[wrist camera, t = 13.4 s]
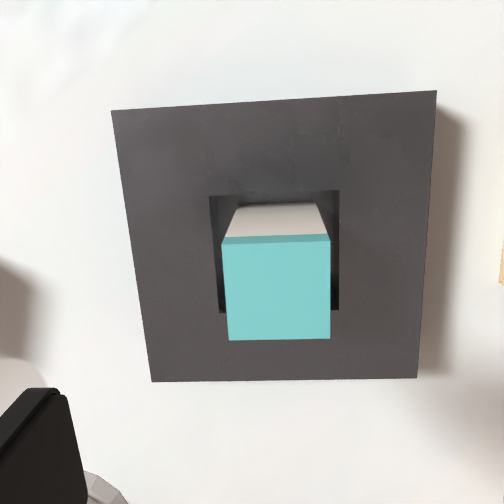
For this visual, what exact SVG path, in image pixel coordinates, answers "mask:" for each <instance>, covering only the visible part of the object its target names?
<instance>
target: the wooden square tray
mask: <svg viewBox="0 0 504 504" xmlns="http://www.w3.org/2000/svg"><path fill="white" fill-rule="evenodd" d="M499 282H500V283H501V284H502V285H504V244H503V252H502V260H501V267H500V275H499Z"/></svg>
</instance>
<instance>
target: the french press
mask: <svg viewBox="0 0 504 504" xmlns="http://www.w3.org/2000/svg"><path fill="white" fill-rule="evenodd" d="M84 476H85V480H86V485H87V489H88V500H87V504H128V503H127V502H126V500H125V499H124V497H123V496H122V494H121V493H120V492H119V491H118V490H117V489H115V488H114V487H113V486H111V485H110V484H109V483H107V482H106V481H104V480H103V479H102V478H100V477H99V476H97V475H94V474H92V473H89V472H86V471H84Z"/></svg>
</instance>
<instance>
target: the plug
mask: <svg viewBox="0 0 504 504" xmlns="http://www.w3.org/2000/svg"><path fill="white" fill-rule="evenodd" d="M221 246H222V259H223V272H224V284H225V297H226V310H227V323H228V335H229V340H278V339H330V239H329V236H328V234H327V231H326V228H325V226H324V223H323V221H322V218H321V215H320V213H319V210H318V208H317V205H316V202H298V203H273V204H248V205H238V206H237V209H236V211H235V214H234V216H233V218H232V221H231V223H230V225H229V228H228V230H227V233H226V235H225V237H224V240H223V242H222V244H221Z"/></svg>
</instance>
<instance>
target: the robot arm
mask: <svg viewBox="0 0 504 504" xmlns="http://www.w3.org/2000/svg"><path fill="white" fill-rule="evenodd" d="M87 500H88V489H87V485H86V480H85V476H84V471H83V467H82V462H81V458H80V453H79V449H78V444H77V440H76V436H75V431H74V427H73V422H72V418H71V413H70V409H69V404H68V400H67V397H66V396H65V395H61V394H60V392H59V390H58V389H56V388H28V389H26V390H25V391H24V392H23V393H22V394H21V395H20V396H19V397H18V398H17V399H16V401H15V402H14V403H13V404H12V405H11V406H10V407H9V408H8V409H7V410H6V411H5V412H4V413H3V415H2V416H1V417H0V504H87Z"/></svg>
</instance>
